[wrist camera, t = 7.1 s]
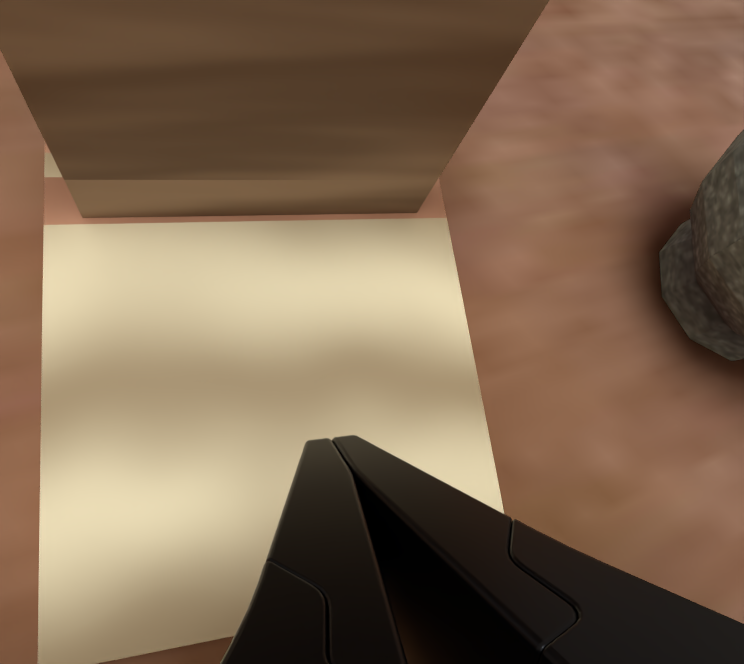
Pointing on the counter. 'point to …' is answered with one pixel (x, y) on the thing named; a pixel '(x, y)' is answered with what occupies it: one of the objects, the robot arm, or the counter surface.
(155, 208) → the bookend block
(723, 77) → the counter surface
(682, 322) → the mortar and pestle
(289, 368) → the board
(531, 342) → the counter surface
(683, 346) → the counter surface
